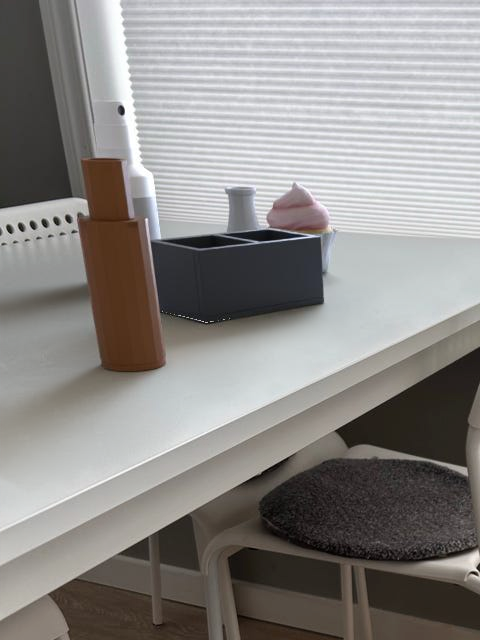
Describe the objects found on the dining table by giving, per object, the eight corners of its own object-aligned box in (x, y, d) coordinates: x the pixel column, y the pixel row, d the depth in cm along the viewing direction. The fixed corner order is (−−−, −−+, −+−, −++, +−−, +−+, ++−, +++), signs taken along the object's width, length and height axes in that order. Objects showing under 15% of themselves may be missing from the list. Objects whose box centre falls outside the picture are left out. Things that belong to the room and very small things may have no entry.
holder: (155, 310, 95) (146, 240, 92) (274, 291, 106) (269, 227, 102) (206, 323, 91) (198, 250, 88) (324, 302, 102) (321, 236, 98)
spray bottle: (132, 289, 104) (104, 101, 95) (90, 281, 107) (60, 98, 98) (179, 281, 109) (157, 102, 100) (138, 273, 112) (113, 99, 103)
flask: (292, 281, 111) (286, 187, 106) (255, 291, 106) (247, 192, 101) (242, 275, 114) (234, 183, 109) (203, 284, 108) (192, 187, 103)
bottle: (89, 363, 77) (53, 157, 70) (142, 353, 81) (113, 156, 73) (125, 375, 75) (92, 162, 67) (178, 363, 78) (152, 160, 71)
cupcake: (288, 262, 123) (283, 177, 118) (352, 269, 120) (349, 181, 115) (248, 273, 115) (240, 182, 110) (315, 280, 112) (310, 187, 107)
